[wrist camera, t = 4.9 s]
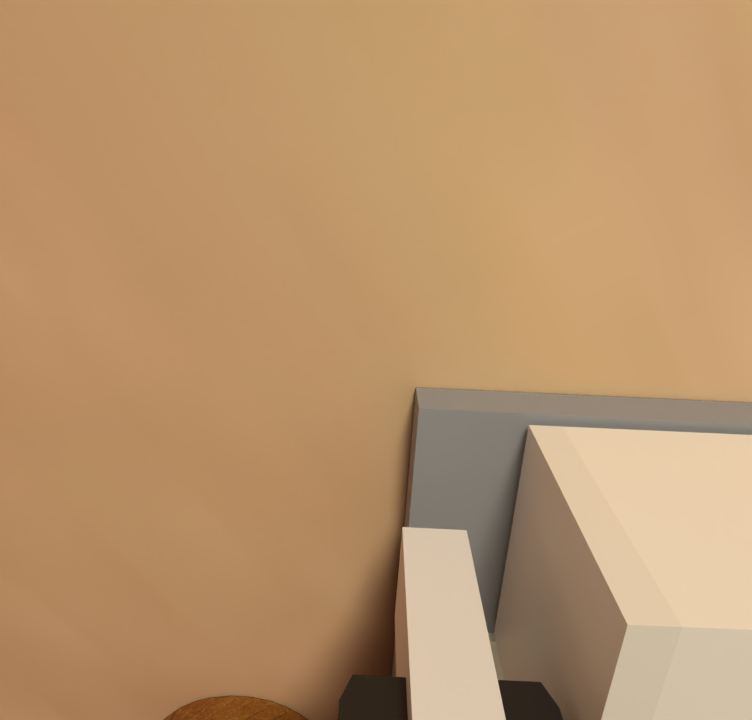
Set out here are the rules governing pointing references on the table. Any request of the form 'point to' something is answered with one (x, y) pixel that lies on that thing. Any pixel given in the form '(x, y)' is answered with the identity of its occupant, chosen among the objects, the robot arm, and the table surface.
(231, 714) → the disposable coffee cup
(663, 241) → the table surface
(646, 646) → the block
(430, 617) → the robot arm
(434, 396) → the board
